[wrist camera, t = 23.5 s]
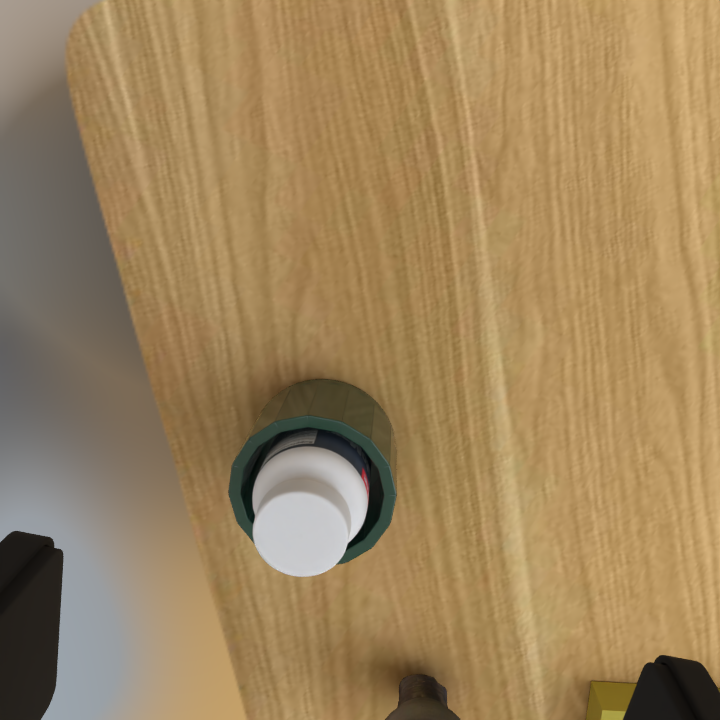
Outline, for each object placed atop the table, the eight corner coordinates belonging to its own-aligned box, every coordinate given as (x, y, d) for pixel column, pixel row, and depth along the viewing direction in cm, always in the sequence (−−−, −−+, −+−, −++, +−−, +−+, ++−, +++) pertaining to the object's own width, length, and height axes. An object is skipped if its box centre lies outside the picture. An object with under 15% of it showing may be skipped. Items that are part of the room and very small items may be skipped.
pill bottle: (389, 470, 36) (386, 566, 27) (304, 506, 36) (275, 610, 28) (345, 386, 34) (328, 458, 26) (258, 425, 35) (214, 508, 27)
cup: (245, 496, 37) (220, 551, 32) (263, 366, 35) (239, 402, 30) (381, 521, 37) (378, 580, 32) (408, 393, 35) (409, 433, 30)
